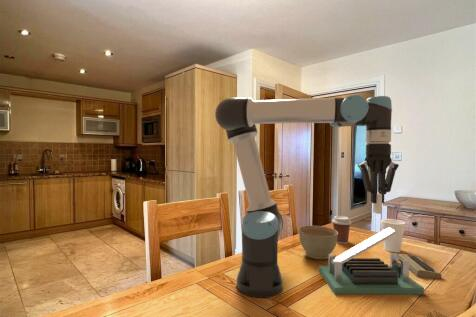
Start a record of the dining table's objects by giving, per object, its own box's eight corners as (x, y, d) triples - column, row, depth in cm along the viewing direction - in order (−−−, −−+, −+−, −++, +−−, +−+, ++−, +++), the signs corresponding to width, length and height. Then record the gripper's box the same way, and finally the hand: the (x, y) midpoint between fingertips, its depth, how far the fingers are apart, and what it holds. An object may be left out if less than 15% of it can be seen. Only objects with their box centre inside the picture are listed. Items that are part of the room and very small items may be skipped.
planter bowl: (341, 264, 106) (341, 237, 105) (299, 261, 108) (299, 235, 108) (333, 250, 121) (334, 226, 121) (297, 247, 124) (297, 224, 124)
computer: (442, 279, 95) (442, 270, 94) (417, 278, 96) (417, 269, 96) (418, 261, 110) (418, 253, 110) (397, 260, 111) (397, 252, 111)
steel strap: (336, 268, 90) (333, 264, 90) (332, 263, 94) (329, 259, 94) (397, 234, 90) (394, 230, 89) (390, 230, 94) (388, 226, 93)
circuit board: (334, 293, 84) (334, 287, 84) (318, 271, 100) (318, 265, 100) (423, 294, 84) (424, 287, 84) (394, 271, 100) (394, 266, 100)
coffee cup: (335, 244, 128) (335, 219, 128) (328, 238, 137) (329, 215, 137) (354, 244, 128) (354, 219, 128) (346, 238, 138) (346, 215, 137)
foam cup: (404, 248, 123) (405, 220, 123) (404, 255, 116) (405, 225, 115) (381, 244, 128) (381, 217, 128) (379, 250, 121) (380, 222, 120)
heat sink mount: (338, 287, 86) (338, 264, 86) (326, 270, 98) (326, 250, 98) (413, 287, 86) (413, 264, 86) (391, 271, 98) (392, 250, 98)
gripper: (364, 142, 87) (363, 215, 88) (404, 142, 87) (403, 215, 88) (354, 143, 94) (353, 210, 95) (391, 143, 94) (390, 210, 95)
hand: (377, 212), depth 91 cm, fingers closed
